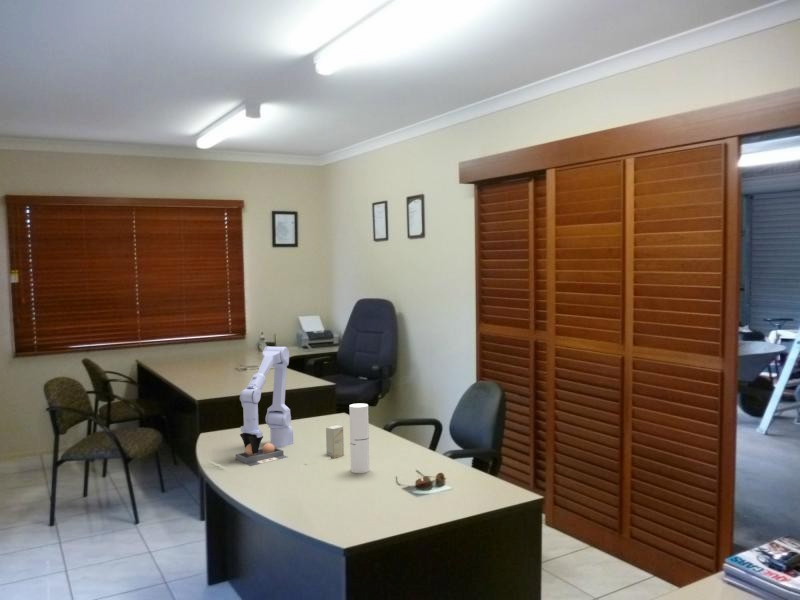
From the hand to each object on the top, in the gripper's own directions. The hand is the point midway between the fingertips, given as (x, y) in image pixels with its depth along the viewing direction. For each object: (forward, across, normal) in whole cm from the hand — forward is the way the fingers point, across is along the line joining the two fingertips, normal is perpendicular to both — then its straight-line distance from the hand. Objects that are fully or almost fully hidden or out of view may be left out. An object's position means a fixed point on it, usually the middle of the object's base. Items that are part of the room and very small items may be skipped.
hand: (251, 451), depth 257 cm
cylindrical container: (+4, +40, +24) cm, 47 cm away
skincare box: (+4, +18, +28) cm, 34 cm away
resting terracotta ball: (+3, 0, +8) cm, 8 cm away
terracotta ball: (+2, 0, 0) cm, 2 cm away
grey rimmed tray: (+4, +2, +4) cm, 5 cm away
